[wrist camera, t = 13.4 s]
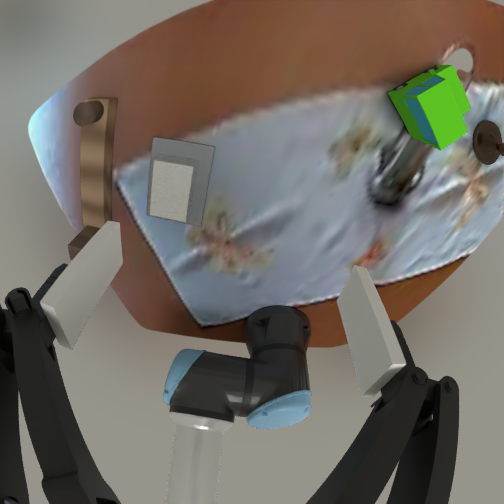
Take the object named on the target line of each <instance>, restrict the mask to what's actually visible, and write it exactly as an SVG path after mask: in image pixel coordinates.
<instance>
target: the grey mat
mask: <svg viewBox="0 0 504 504" xmlns="http://www.w3.org/2000/svg"><path fill="white" fill-rule="evenodd" d="M214 150H215V146H209V145H204V144H198V143H192V142H186V141H180V140H173V139H166V138H159V137H153V144H152V152H151V161H150V172H149V184H148V199H147V215H148V216H152V217H157V218H162V219H167V220H172V221H177V222H182V223H187V224H191V225H196V226H201V223H202V217H203V211H204V205H205V199H206V193H207V188H208V182H209V176H210V171H211V166H212V161H213V155H214ZM162 154H167V155H174V156H180V157H186V158H191V159H197V160H199V165H198V171H197V177H196V184H195V190H194V197H193V203H192V210H191V213H190V215H189V217H188V218H187V220H186V222H183V221H178V220H173V219H168V218H163V217H158V216H153V215H150V203H151V188H152V176H153V166H154V160H155V159H157V158H158V157H159V156H161V155H162Z"/></svg>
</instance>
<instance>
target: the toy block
mask: <svg viewBox="0 0 504 504" xmlns="http://www.w3.org/2000/svg"><path fill="white" fill-rule="evenodd" d="M388 95H389V96H390V98H391V100H392V102H393V103H394V105H395V107H396V109H397V111H398V112H399V114H400V116H401V118H402V120H403V122H404V124H405V126H406V128H407V130H408V132H409V134H410V136H411V137H412V138H415V139H417V140H419V141H422V142H424V143H426V144H428V145H431V146H433V147H435V148H437V149H439V150H442V149H444V148H445V147H447V146H448V145H450V144H451V143H452V142H454V141H455V140H457V139H458V138H460V137H461V136H463V135H464V134H466V133H467V132H468V131H467V128H466V125H465V122H464V119H463V117H462V116H463V115H464V114H465V113H466V112H467V111H468V110H469V109H470V108H471V106H470V103H469V101H468V98H467V96H466V93H465V91H464V89H463V86H462V84H461V82H460V80H459V78H458V75H457V73H456V71H455V69H454V67H453V65H440V66H437V67H436V68H431V69H429V70H426V71H425V72H424V73H422V74H420V75H419V76H417V77H415V78H413V79H411V80H410V81H408V82H406V84H403V85H400V86H398V87H396V88H394V89H393V90H392V91H390V92H389V93H388Z"/></svg>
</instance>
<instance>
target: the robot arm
mask: <svg viewBox="0 0 504 504" xmlns="http://www.w3.org/2000/svg"><path fill="white" fill-rule="evenodd" d="M122 264H123V258H122V247H121V234H120V223H119V222H113V221H107V222H106V223H105V224H104V225H103V226H102V228H101V229H100V230H99V231H98V232H97V233H96V234H95V235H94V236H93V237H92V238H91V239H90V241H89V242H88V243H87V244H86V245H85V246H84V247H83V248H82V250H81V251H80V252H79V253H78V254H77V255H76V257H75V258H74V259H73V260H72V261H71V263H70V264H69V265H68V264H62V265H61V266H59V267H58V268H56V269H55V270H54V271H53V273H52V274H51V275H50V277H48V279H47V280H46V282H45V283H44V284H43V285H42V286H41V288H40V289H39V290H38V291H37V293H36V294H35V295H34V297H33V298H31V296H30V293H29V291H28V290H27V289H26V288H22V287H21V288H16V289H14V290H12V291H11V292H9V293H8V295H7V296H6V298H5V304H6V306H7V308H8V310H7V309H2V307H1V305H0V504H29V495H28V489H27V484H26V479H25V473H24V467H23V461H22V454H21V446H20V435H19V414H18V390H19V394H20V399H21V404H22V408H23V412H24V416H25V420H26V424H27V428H28V431H29V435H30V438H31V441H32V444H33V448H34V450H35V453H36V456H37V459H38V461H39V464H40V467H41V469H42V472H43V477H44V478H43V480H42V488H43V490H44V493H45V495H46V497H47V500H48V501H49V503H50V504H121V503H120V501H119V500H118V498H117V496H116V495H115V493H114V492H113V490H112V489H111V488H110V487H109V485H108V484H107V483H106V482H105V481H104V479H103V478H102V476H101V474H100V472H99V471H98V468H97V466H96V464H95V462H94V460H93V458H92V456H91V454H90V452H89V450H88V448H87V445H86V444H85V441H84V439H83V436H82V434H81V431H80V429H79V427H78V424H77V421H76V419H75V416H74V413H73V411H72V408H71V405H70V402H69V399H68V396H67V393H66V390H65V386H64V383H63V379H62V376H61V372H60V368H59V365H58V360H57V356H56V352H55V347H54V345H53V341H54V339H55V337H56V338H57V340H58V342H59V344H60V345H62V346H64V347H67V348H69V349H72V350H73V348H74V346H75V344H76V342H77V340H78V338H79V336H80V334H81V333H82V331H83V329H84V327H85V325H86V323H87V321H88V320H89V318H90V316H91V314H92V313H93V311H94V309H95V307H96V306H97V304H98V302H99V301H100V299H101V297H102V296H103V294H104V293H105V291H106V289H107V288H108V286H109V284H110V283H111V281H112V280H113V278H114V276H115V275H116V273H117V272H118V270H119V269H120V267H121V266H122ZM337 304H338V307H339V311H340V314H341V318H342V322H343V325H344V329H345V333H346V337H347V341H348V345H349V348H350V353H351V356H352V361H353V365H354V370H355V374H356V378H357V383H358V387H359V392H360V396H361V397H365V396H374V395H375V394H377V393H378V391H380V390H381V393H382V396H381V397H380V398H379V399H378V400H377V401H375V402H374V403H373V404H372V405H371V407H373V406H374V405H375V407H374V408H373V410H372V412H371V414H370V416H369V417H368V419H367V420H366V422H365V424H364V425H363V427H362V429H361V431H360V432H359V434H358V435H357V437H356V438H355V440H354V441H353V443H352V444H351V446H350V447H349V449H348V450H347V452H346V453H345V455H344V456H343V458H342V459H341V460H340V462H339V463H338V465H337V466H336V468H335V469H334V470H333V471H332V473H331V474H330V475H329V476H328V478H327V479H326V480H325V482H324V483H323V484H322V485H321V486H320V488H319V489H318V490H317V492H316V493H315V494H314V495H313V496H312V497H311V498H310V500H309V501H308V502H307V503H306V504H375V502H376V501H377V499H378V497H379V496H380V494H381V493H382V491H383V489H384V487H385V486H386V484H387V482H388V480H389V479H390V477H391V475H392V473H393V471H394V469H395V467H396V465H397V463H398V461H399V464H398V468H397V471H396V475H395V478H394V482H393V485H392V488H391V492H390V495H389V498H388V501H387V503H386V504H448V501H449V497H450V492H451V487H452V482H453V476H454V470H455V462H456V453H457V443H458V428H459V388H458V385H457V383H456V381H455V380H454V379H453V378H452V377H449V376H445V377H443V378H442V379H441V380H440V381H435V380H432V379H429V378H428V376H427V374H426V373H425V372H424V371H423V370H422V369H421V368H419V367H416V366H415V364H414V361H413V358H412V356H411V353H410V351H409V348H408V346H407V344H406V341H405V339H404V338H403V333H402V331H401V329H400V327H399V326H398V325H397V323H396V322H395V321H392V320H389V318H388V315H387V313H386V311H385V308H384V306H383V304H382V301H381V299H380V297H379V295H378V292H377V290H376V288H375V286H374V284H373V282H372V279H371V277H370V275H369V273H368V271H367V269H366V267H360V266H355V265H354V267H353V270H352V272H351V274H350V276H349V278H348V280H347V282H346V284H345V286H344V288H343V290H342V292H341V294H340V296H339V298H338V300H337ZM310 337H311V327H310V321H309V319H308V317H307V316H306V315H305V314H304V313H303V312H301V311H299V310H297V309H295V308H292V307H288V306H271V307H266V308H263V309H260V310H258V311H256V312H254V313H253V314H251V315H250V316H249V317H248V318H247V320H246V322H245V324H244V340H245V343H246V345H247V348H248V351H249V354H250V359H248V358H242V357H236V356H229V355H222V354H217V353H212V352H207V351H205V350H202V351H199V350H192V349H184V350H182V351H180V352H179V353H178V354H177V356H176V357H175V359H174V361H173V363H172V365H171V368H170V370H169V373H168V376H167V379H166V383H165V389H164V393H163V401H164V403H166V404H167V405H170V411H169V415H170V416H171V417H172V419H173V420H174V422H175V424H176V427H175V434H174V440H173V446H172V454H171V460H170V468H169V475H168V484H167V492H166V500H165V504H216V497H217V488H218V480H219V471H220V462H221V454H222V445H223V437H224V432H225V431H226V430H227V429H229V428H230V427H231V426H233V425H234V417H235V416H240V417H247V418H246V420H247V422H248V424H249V425H250V426H251V427H256V428H259V429H275V428H281V427H286V426H290V425H293V424H295V423H298V422H300V421H302V420H303V419H304V418H306V417H307V416H308V414H309V413H310V410H311V391H310V384H309V374H308V367H307V359H306V351H307V348H308V344H309V341H310ZM432 415H433V419H432ZM399 459H400V460H399Z"/></svg>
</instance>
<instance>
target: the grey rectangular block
mask: <svg viewBox="0 0 504 504" xmlns="http://www.w3.org/2000/svg"><path fill="white" fill-rule="evenodd" d="M198 165H199V160H197V159H191V158H186V157H180V156H174V155H167V154H162V155H161V156H159V157H158V158H157V159H155V160H154V166H153V176H152V188H151V203H150V215H153V216H158V217H163V218H168V219H173V220H178V221H183V222H186V220H187V218H188V217H189V215H190V213H191V210H192V203H193V197H194V190H195V184H196V177H197V171H198Z"/></svg>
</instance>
